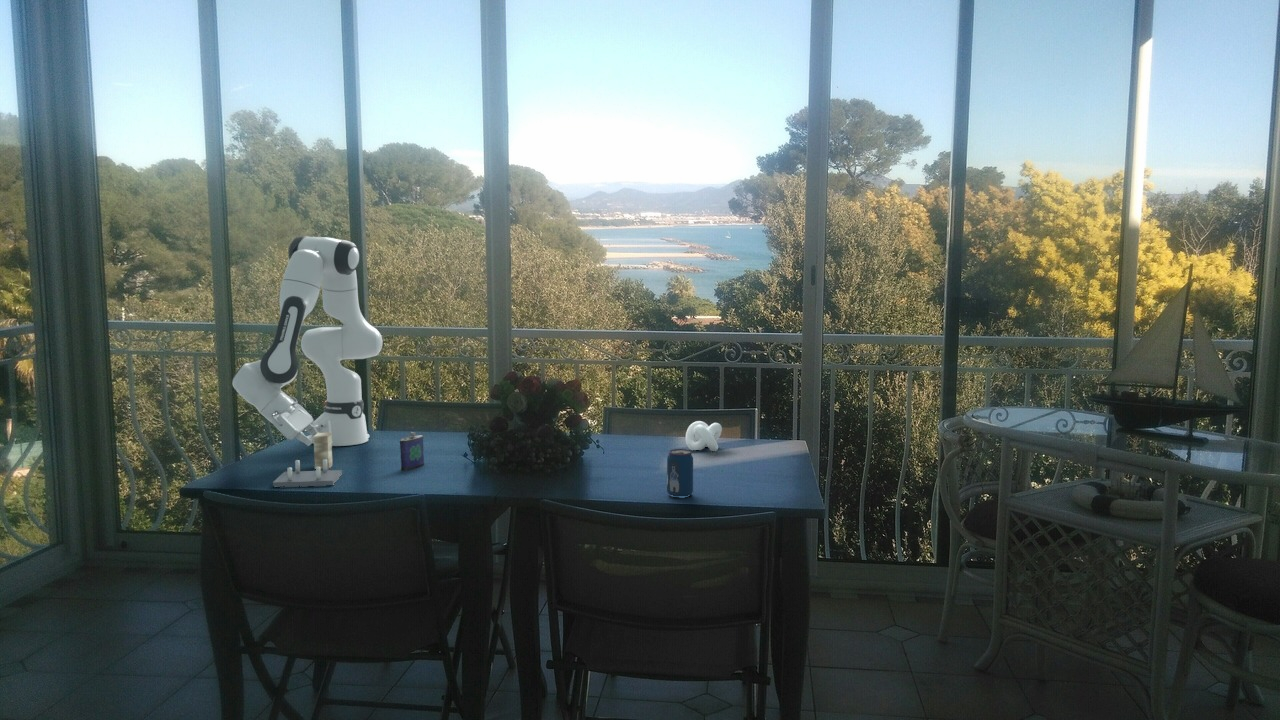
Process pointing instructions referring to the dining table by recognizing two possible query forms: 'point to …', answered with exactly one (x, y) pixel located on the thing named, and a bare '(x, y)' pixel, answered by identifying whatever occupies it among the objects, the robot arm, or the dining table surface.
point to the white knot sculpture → (703, 436)
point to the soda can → (680, 472)
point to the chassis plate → (307, 477)
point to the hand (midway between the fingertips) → (315, 440)
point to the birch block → (322, 449)
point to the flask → (412, 451)
